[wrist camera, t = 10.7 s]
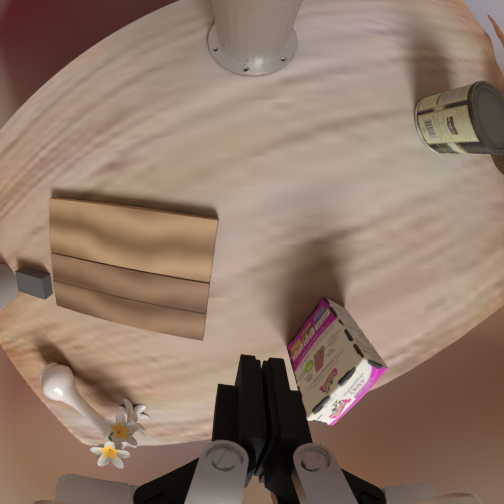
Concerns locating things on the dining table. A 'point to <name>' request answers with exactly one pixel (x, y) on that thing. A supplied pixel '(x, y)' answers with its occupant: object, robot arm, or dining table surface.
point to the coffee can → (463, 120)
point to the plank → (134, 237)
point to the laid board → (131, 296)
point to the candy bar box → (332, 363)
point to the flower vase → (95, 414)
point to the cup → (7, 286)
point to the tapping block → (34, 282)
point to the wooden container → (499, 162)
